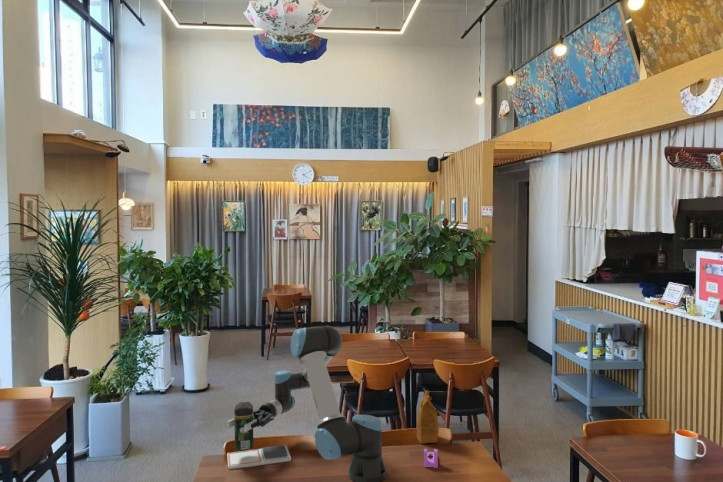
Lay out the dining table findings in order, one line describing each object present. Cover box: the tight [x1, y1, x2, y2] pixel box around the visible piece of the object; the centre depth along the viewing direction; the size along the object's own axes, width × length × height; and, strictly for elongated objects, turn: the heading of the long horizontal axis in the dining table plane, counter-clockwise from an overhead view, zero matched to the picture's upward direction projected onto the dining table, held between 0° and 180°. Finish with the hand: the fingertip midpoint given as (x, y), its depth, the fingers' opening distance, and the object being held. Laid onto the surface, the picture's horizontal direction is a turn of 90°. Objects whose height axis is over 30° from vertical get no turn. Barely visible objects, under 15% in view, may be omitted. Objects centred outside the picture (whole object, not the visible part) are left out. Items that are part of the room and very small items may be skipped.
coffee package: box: [416, 390, 440, 445], centre depth 237 cm, size 10×12×22 cm
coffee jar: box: [233, 401, 254, 452], centre depth 217 cm, size 10×8×19 cm
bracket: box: [423, 448, 439, 469], centre depth 214 cm, size 13×6×7 cm, turn 173°
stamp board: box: [226, 445, 292, 470], centre depth 218 cm, size 14×26×1 cm, turn 107°
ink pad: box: [260, 444, 291, 461], centre depth 220 cm, size 13×11×1 cm
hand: (236, 426), depth 213 cm, fingers closed on coffee jar, 9 cm apart
